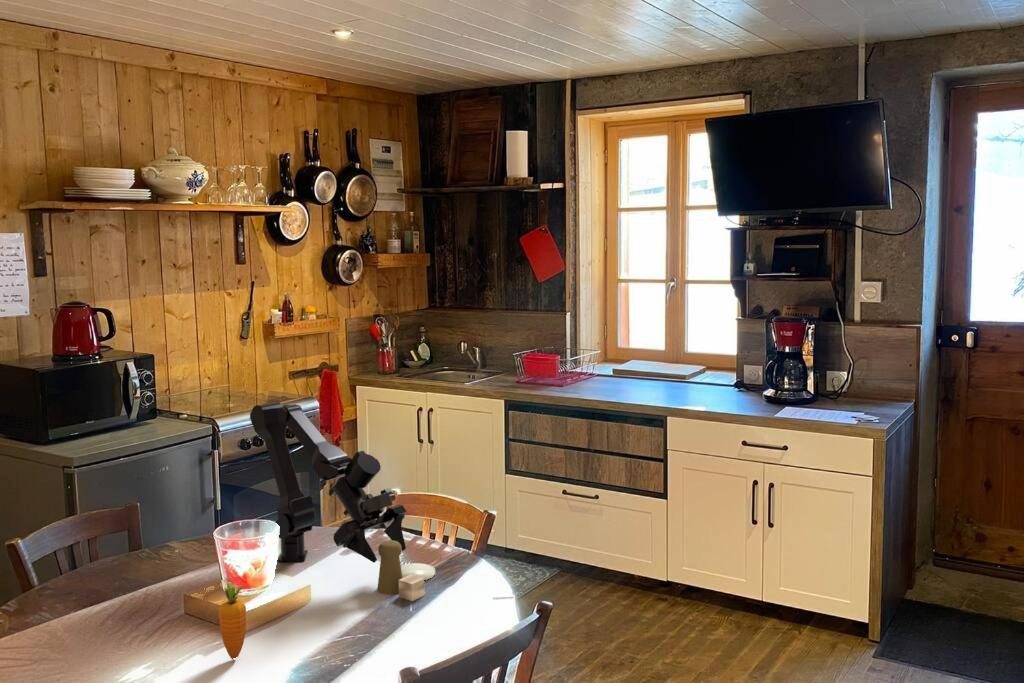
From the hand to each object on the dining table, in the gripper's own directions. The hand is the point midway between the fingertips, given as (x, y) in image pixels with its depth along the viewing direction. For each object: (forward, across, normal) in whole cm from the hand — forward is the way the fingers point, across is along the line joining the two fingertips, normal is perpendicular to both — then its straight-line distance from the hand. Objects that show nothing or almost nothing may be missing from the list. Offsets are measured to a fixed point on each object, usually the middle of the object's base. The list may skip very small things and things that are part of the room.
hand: (390, 555), depth 201 cm
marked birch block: (+10, 0, +1) cm, 10 cm away
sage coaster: (+4, +10, +7) cm, 13 cm away
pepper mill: (+6, 0, +6) cm, 8 cm away
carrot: (+6, -42, +6) cm, 43 cm away
